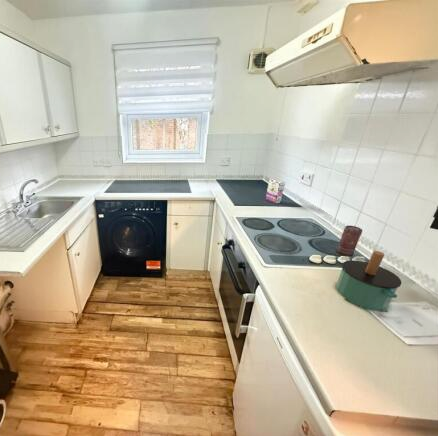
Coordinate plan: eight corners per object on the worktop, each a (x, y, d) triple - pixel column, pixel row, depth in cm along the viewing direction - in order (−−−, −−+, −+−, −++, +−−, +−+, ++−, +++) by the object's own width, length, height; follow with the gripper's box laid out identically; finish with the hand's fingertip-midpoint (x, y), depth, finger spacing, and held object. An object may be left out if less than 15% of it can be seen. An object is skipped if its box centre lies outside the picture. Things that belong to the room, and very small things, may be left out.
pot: (361, 279, 95) (370, 259, 91) (407, 318, 77) (420, 295, 73) (323, 277, 96) (330, 257, 93) (358, 314, 78) (368, 291, 74)
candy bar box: (280, 203, 180) (285, 182, 174) (275, 204, 179) (279, 182, 173) (270, 199, 190) (274, 179, 184) (264, 199, 189) (268, 179, 183)
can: (355, 258, 109) (365, 231, 104) (338, 256, 111) (348, 229, 106) (349, 252, 114) (359, 226, 109) (334, 250, 116) (343, 224, 111)
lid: (375, 264, 89) (385, 242, 86) (414, 291, 75) (427, 267, 72) (331, 261, 91) (339, 240, 87) (361, 288, 77) (371, 264, 73)
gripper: (453, 150, 77) (424, 211, 86) (451, 158, 63) (416, 230, 71) (491, 153, 72) (456, 217, 80) (499, 161, 58) (455, 239, 66)
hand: (437, 223), depth 76 cm, fingers open, 13 cm apart
